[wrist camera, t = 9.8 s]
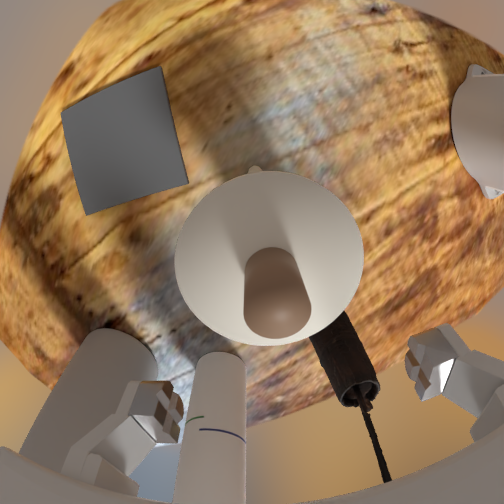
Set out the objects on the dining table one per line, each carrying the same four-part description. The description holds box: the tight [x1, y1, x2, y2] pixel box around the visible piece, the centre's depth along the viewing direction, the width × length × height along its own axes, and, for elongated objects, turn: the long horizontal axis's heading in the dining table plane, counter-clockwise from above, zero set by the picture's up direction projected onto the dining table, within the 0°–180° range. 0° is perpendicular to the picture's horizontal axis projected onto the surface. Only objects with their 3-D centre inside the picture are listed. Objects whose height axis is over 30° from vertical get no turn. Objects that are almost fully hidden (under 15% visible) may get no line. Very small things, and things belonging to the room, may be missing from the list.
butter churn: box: [309, 311, 392, 483], centre depth 21 cm, size 9×10×28 cm
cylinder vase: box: [19, 328, 158, 473], centre depth 25 cm, size 12×12×25 cm
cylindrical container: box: [172, 352, 246, 504], centre depth 26 cm, size 7×7×25 cm
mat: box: [61, 66, 189, 216], centre depth 25 cm, size 13×13×1 cm
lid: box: [175, 171, 364, 346], centre depth 14 cm, size 11×11×5 cm
